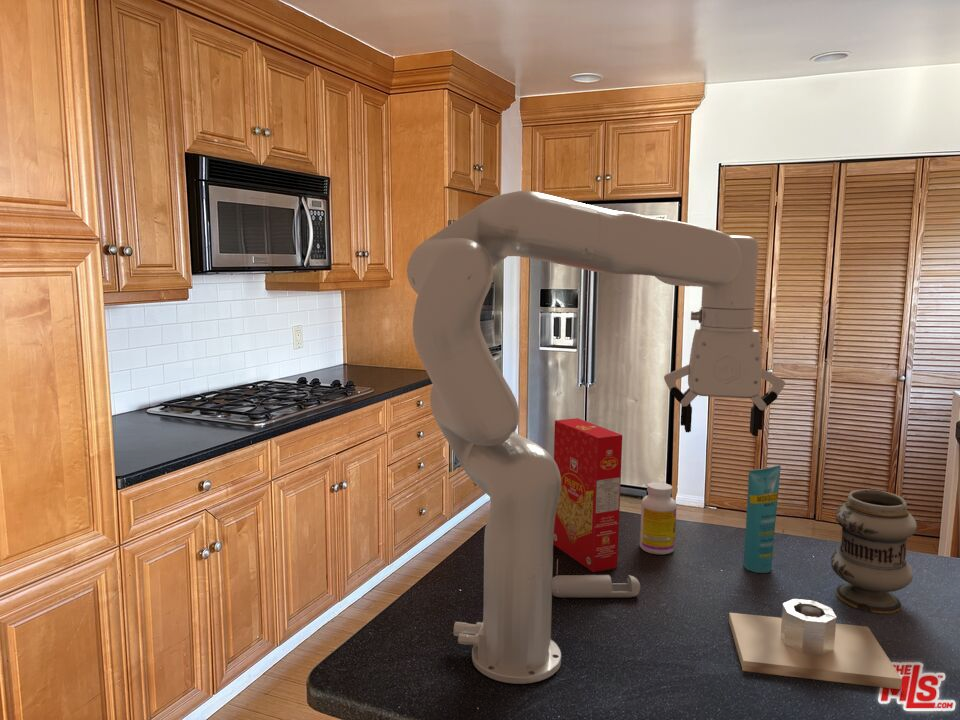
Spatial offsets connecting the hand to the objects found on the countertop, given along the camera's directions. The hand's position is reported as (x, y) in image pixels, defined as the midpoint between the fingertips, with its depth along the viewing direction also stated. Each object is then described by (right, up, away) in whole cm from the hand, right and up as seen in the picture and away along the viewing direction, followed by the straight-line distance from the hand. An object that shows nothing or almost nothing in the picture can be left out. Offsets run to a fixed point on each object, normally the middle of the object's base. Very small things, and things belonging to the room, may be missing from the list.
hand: (720, 432), depth 110 cm
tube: (+15, -28, +23) cm, 39 cm away
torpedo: (-19, -29, +12) cm, 37 cm away
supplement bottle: (-2, -26, +32) cm, 41 cm away
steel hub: (+11, -30, -5) cm, 32 cm away
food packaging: (-17, -27, +29) cm, 43 cm away
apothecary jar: (+29, -30, +12) cm, 43 cm away
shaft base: (+11, -31, -5) cm, 34 cm away
